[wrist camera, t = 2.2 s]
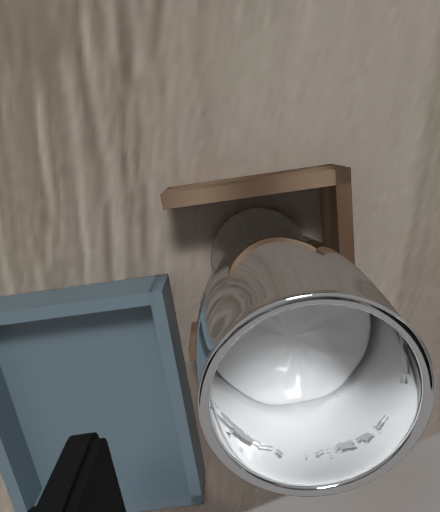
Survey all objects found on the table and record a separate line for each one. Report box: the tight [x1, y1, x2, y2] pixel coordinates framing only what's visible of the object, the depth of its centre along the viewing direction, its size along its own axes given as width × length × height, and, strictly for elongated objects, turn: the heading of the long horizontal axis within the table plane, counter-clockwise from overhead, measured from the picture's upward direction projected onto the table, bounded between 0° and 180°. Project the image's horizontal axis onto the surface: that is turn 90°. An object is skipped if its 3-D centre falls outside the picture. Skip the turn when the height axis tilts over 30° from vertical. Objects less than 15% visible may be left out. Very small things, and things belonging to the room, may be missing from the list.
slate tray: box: [0, 274, 205, 512], centre depth 26 cm, size 13×16×3 cm
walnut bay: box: [161, 164, 355, 361], centre depth 23 cm, size 10×10×4 cm
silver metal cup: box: [196, 208, 435, 497], centre depth 18 cm, size 7×7×15 cm
